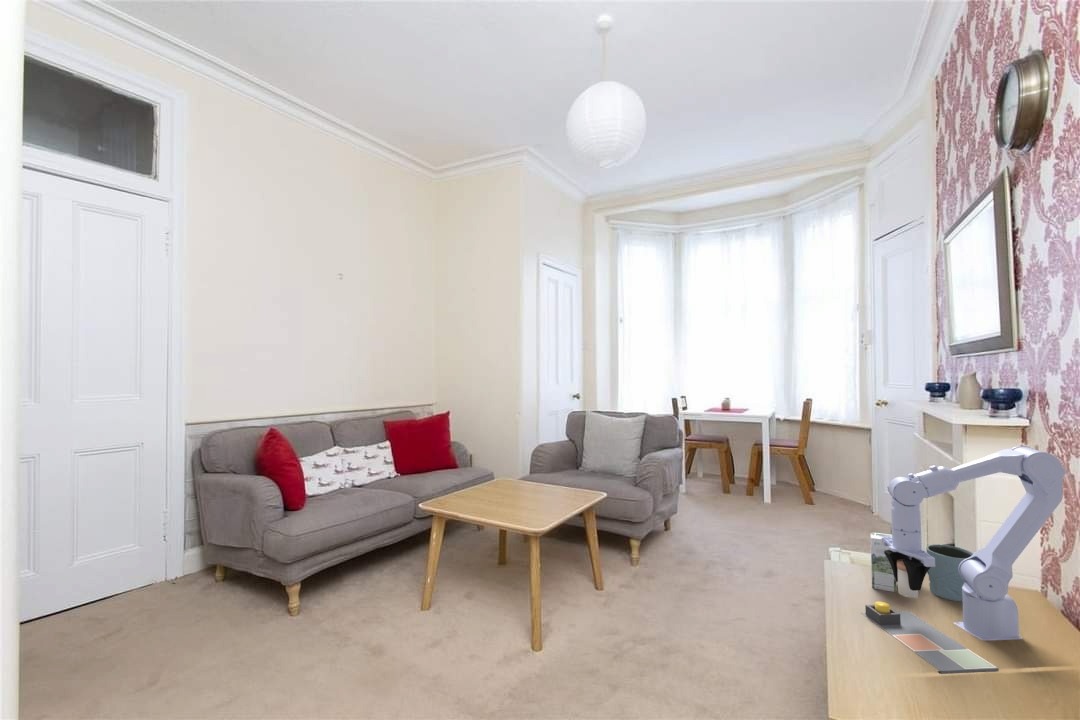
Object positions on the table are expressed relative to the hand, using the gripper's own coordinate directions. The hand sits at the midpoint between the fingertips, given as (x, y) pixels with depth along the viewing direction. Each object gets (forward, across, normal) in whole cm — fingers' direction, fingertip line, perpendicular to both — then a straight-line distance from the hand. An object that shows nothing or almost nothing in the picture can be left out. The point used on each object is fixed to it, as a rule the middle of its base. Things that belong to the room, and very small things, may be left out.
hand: (908, 585), depth 123 cm
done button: (+8, 0, -6) cm, 10 cm away
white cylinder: (+2, 0, 0) cm, 2 cm away
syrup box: (+9, -18, +7) cm, 21 cm away
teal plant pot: (+9, -12, +21) cm, 26 cm away
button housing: (+8, 0, -6) cm, 10 cm away
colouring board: (+9, +8, -3) cm, 12 cm away
